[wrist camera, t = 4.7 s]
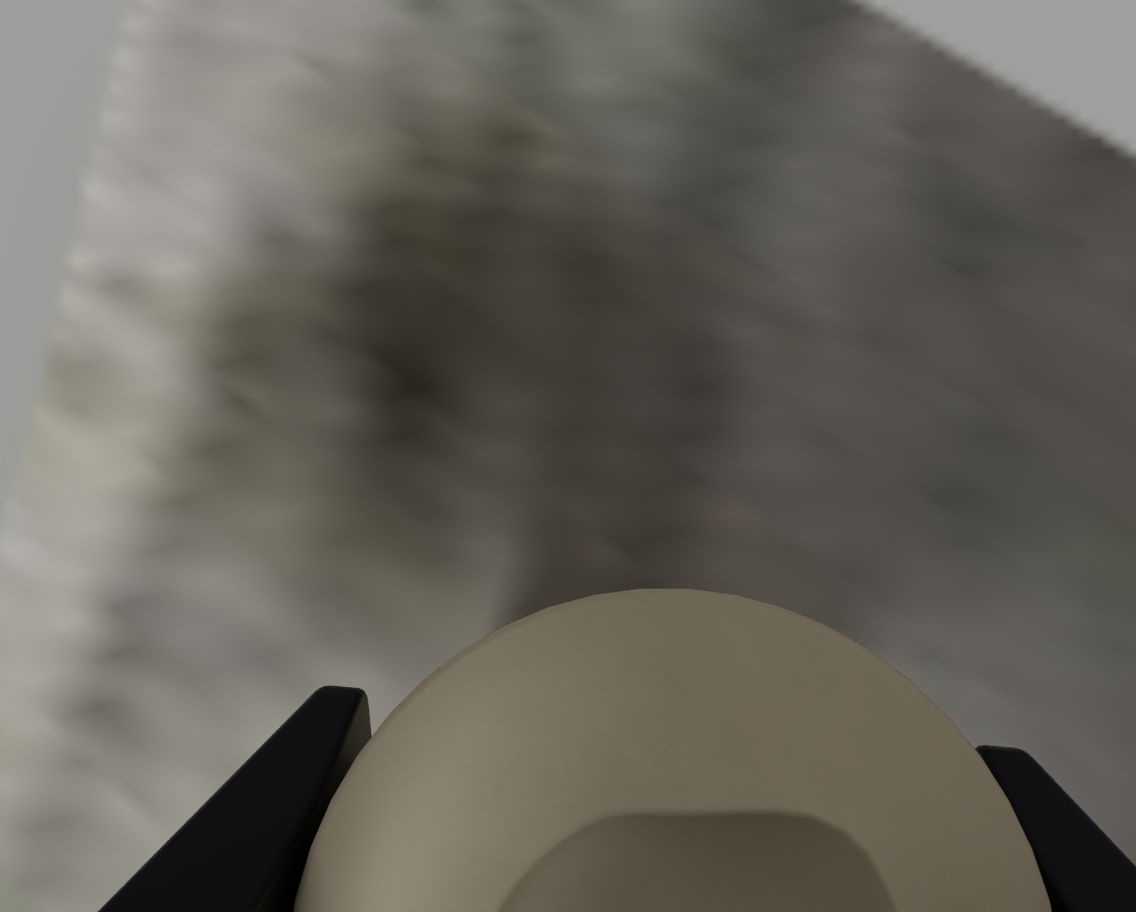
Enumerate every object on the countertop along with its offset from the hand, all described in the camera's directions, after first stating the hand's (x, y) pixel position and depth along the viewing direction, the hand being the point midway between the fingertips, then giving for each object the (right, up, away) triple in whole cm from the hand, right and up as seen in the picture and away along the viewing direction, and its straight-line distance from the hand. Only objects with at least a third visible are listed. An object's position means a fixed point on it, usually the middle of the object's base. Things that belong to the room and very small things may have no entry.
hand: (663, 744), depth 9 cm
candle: (0, -3, +6) cm, 7 cm away
